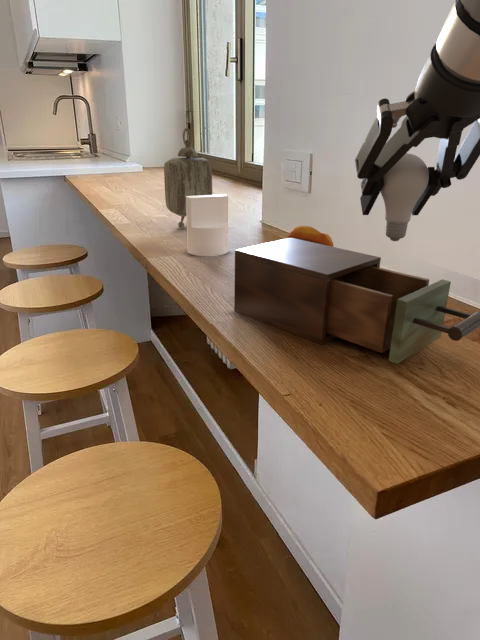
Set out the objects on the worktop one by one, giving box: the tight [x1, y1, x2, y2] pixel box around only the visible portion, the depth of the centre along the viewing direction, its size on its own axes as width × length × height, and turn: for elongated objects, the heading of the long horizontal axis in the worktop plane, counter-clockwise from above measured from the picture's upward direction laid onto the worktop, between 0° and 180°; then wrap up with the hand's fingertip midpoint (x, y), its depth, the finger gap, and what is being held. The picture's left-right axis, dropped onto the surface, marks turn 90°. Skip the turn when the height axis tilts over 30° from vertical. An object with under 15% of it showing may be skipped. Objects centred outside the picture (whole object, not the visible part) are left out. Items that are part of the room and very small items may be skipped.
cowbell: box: [163, 127, 213, 229], centre depth 129 cm, size 14×9×25 cm, turn 22°
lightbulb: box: [380, 152, 429, 242], centre depth 63 cm, size 6×6×11 cm
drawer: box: [326, 266, 480, 365], centre depth 63 cm, size 21×11×8 cm, turn 44°
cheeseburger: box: [286, 225, 335, 247], centre depth 94 cm, size 10×11×10 cm
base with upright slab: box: [186, 193, 229, 257], centre depth 108 cm, size 9×9×12 cm
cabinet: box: [233, 237, 382, 346], centre depth 73 cm, size 17×13×10 cm
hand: (388, 206), depth 67 cm, fingers closed on lightbulb, 6 cm apart
